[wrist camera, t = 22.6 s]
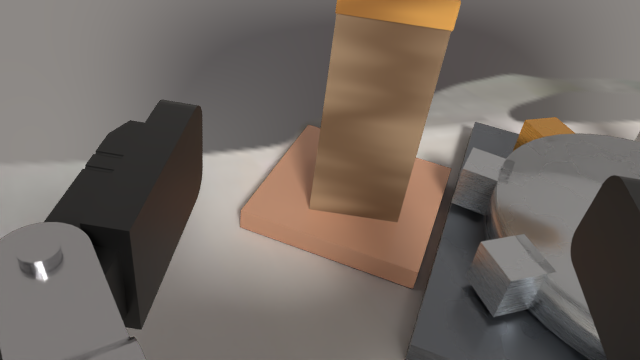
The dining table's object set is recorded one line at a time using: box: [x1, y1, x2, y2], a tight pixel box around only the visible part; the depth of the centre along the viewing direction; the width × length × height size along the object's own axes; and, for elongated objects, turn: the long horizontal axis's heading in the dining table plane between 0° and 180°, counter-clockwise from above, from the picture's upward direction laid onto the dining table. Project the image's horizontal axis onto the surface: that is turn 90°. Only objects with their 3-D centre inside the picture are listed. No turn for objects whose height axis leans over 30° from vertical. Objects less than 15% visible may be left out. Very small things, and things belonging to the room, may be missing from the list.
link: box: [309, 0, 461, 222], centre depth 23 cm, size 4×4×10 cm
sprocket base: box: [405, 122, 589, 360], centre depth 24 cm, size 17×17×1 cm
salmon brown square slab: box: [240, 125, 451, 289], centre depth 26 cm, size 8×8×1 cm
